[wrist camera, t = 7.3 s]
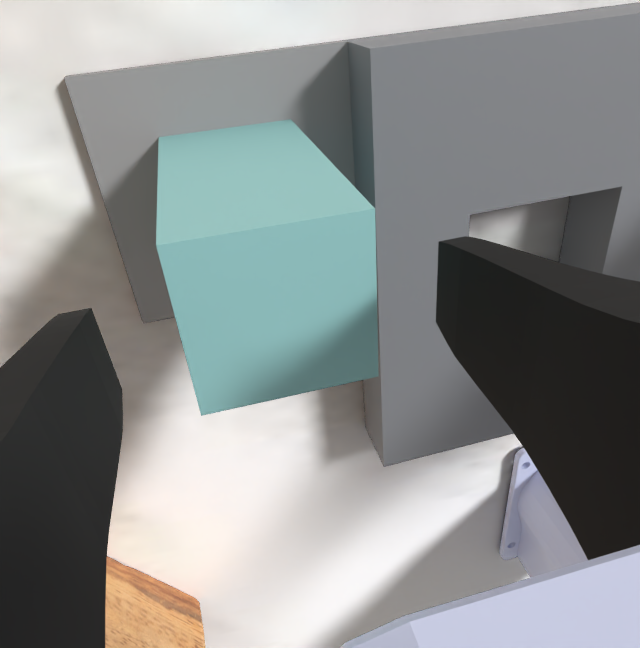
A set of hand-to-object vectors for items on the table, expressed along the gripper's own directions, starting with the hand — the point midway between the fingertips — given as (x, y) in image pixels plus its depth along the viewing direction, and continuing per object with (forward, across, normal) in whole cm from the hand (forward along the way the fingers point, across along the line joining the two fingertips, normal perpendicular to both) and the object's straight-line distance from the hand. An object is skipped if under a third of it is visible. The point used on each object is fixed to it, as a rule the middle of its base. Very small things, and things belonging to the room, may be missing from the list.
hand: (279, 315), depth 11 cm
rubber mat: (+8, 0, 0) cm, 8 cm away
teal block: (+8, 0, 0) cm, 8 cm away
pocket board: (+8, -10, +4) cm, 13 cm away
